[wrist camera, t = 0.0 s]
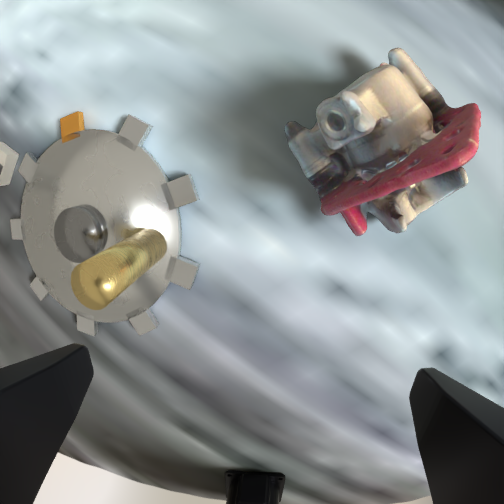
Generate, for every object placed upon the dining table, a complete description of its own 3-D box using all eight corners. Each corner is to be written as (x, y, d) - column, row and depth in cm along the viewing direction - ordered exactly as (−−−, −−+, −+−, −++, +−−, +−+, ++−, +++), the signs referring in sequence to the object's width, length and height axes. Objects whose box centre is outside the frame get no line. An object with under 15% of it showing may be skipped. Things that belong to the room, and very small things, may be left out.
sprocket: (203, 347, 24) (171, 425, 16) (32, 318, 25) (-25, 361, 17) (201, 99, 19) (153, 60, 11) (13, 128, 20) (-61, 128, 12)
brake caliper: (374, 294, 19) (345, 234, 9) (292, 176, 24) (212, 70, 14) (496, 198, 17) (547, 78, 7) (400, 102, 22) (376, -23, 12)
